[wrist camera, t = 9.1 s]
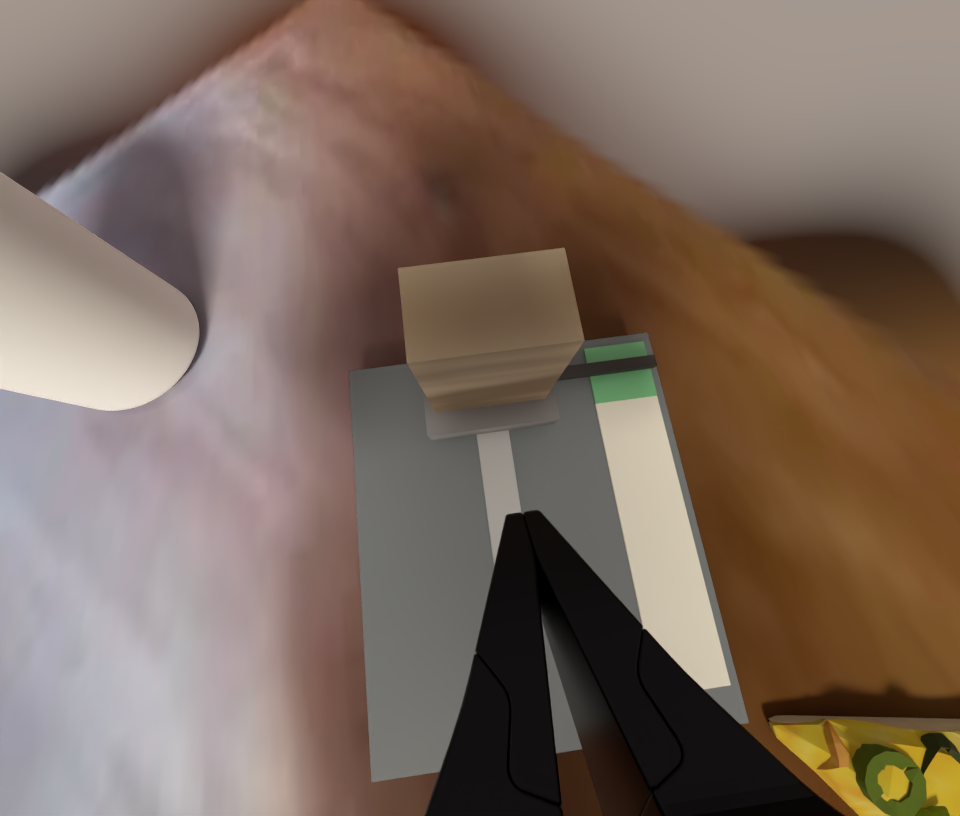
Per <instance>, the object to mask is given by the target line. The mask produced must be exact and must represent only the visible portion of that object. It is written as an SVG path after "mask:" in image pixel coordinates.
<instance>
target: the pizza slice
mask: <svg viewBox="0 0 960 816" xmlns="http://www.w3.org/2000/svg"><path fill="white" fill-rule="evenodd" d="M768 719H769V721H770V722H768V723H769V725H770V727H771V729H772V731H773V732H774V734H775V736H776V738H777V739H779V740H780V741H781V742H782V743H783V744H784V745H785V746H786V747H788V748H789V749H790V750H791V751H792V752H793V753H794V754H796V755H797V756H798V757H799V758H800V759H801V760H802V761H803V762H805V763H806V764H807V765H808V766H809V767H810V768H811V769H813V770H814V771H815V772H816V773H817V774H818V775H819V776H820V777H821V778H822V779H823V780H824V781H825V782H826V783H827V784H828V785H829V786H830V787H831V788H832V789H833V790H834V791H835V792H836V793H837V794H838V795H839V796H840V797H841V798H842V799H843V800H844V801H845V802H846V803H847V804H848V805H849V806H850V807H851V808H852V809H853V810H854V811H855V812H856V813H857V814H858V815H859V816H960V719H941V718H894V717H846V716H800V715H776V716H773V717H771V718H768Z"/></svg>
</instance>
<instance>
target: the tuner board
mask: <svg viewBox="0 0 960 816" xmlns="http://www.w3.org/2000/svg"><path fill="white" fill-rule="evenodd" d="M646 355H653V352H652V348H651V344H650V340H649V336H648V333H641V334H633V335H625V336H617V337H610V338H602V339H594V340H586V341H584V342H583V344H582V345H581V346H580V348H579V349H578V351H577V352H576V354H575V355H574V357H573V358H572V360H571V361H570V363H569V364H568V366H570V365H577V364H585V363H593V362H600V361H608V360H616V359H623V358H631V357H639V356H646ZM349 382H350V401H351V419H352V437H353V455H354V473H355V491H356V509H357V527H358V546H359V564H360V582H361V600H362V618H363V636H364V654H365V672H366V691H367V709H368V727H369V745H370V763H371V781H372V782H377V781H383V780H390V779H396V778H402V777H409V776H415V775H421V774H428V773H434V772H440V769H441V766H442V763H443V760H444V757H445V755H446V752H447V749H448V746H449V743H450V740H451V737H452V734H453V731H454V727H455V724H456V721H457V718H458V715H459V711H460V708H461V705H462V701H463V697H464V693H465V690H466V686H467V682H468V678H469V674H470V670H471V665H472V661H473V656H474V654H476V653H475V649H476V644H477V640H478V635H479V631H480V627H481V622H482V618H483V613H484V609H485V604H486V600H487V596H488V591H489V587H490V582H491V578H492V574H493V569H494V565H495V560H496V556H497V551H498V547H499V543H500V538H501V534H502V529H503V525H504V521H505V517H506V515H507V514H511V513H518V512H521V513H522V514H523V513H524V512H525V511H532V510H539V511H541V512H542V513H543V514H544V516H545V517H546V518H547V519H548V520H549V521H550V522H551V523H552V525H553V526H554V527H555V528H556V529H557V530H558V531H559V532H560V533H561V535H562V536H563V537H564V538H565V539H566V540H567V541H568V542H569V544H570V545H571V546H572V547H573V548H574V549H575V550H576V551H577V553H578V554H579V555H580V556H581V557H582V558H583V559H584V560H585V561H586V563H587V564H588V565H589V566H590V567H591V568H592V569H593V570H594V572H595V573H596V574H597V575H598V576H599V577H600V578H601V579H602V580H603V582H604V583H605V584H606V585H607V586H608V587H609V588H610V589H611V591H612V592H613V593H614V594H615V595H616V596H617V597H618V598H619V599H620V601H621V602H622V603H623V604H624V605H625V606H626V607H627V608H628V610H629V611H630V612H631V613H632V614H633V615H634V616H635V617H636V618H637V620H638V621H639V622H640V623H641V624H642V625H643V629H647V631H648V632H649V633H650V634H651V635H652V636H653V637H654V638H655V640H656V641H657V642H658V643H659V644H660V645H661V646H662V647H663V648H664V649H665V650H666V652H667V653H668V654H669V655H670V656H671V657H672V658H673V659H674V660H675V661H676V662H677V663H678V664H679V665H680V666H681V668H682V669H683V670H684V671H685V672H686V673H687V674H688V675H689V676H690V677H691V678H692V679H693V680H695V681H696V682H697V683H698V684H699V685H700V686H701V687H702V688H703V689H704V690H705V691H706V692H707V693H708V694H709V695H710V696H711V697H712V698H713V699H714V700H715V701H716V702H717V703H718V704H719V705H720V706H721V707H723V708H724V709H725V710H726V711H727V712H728V713H729V714H730V715H731V716H732V717H733V718H734V719H735V720H736V721H737V722H738V723H740V724H745V723H749V722H748V718H747V714H746V710H745V706H744V703H743V699H742V695H741V691H740V687H739V683H738V679H737V676H736V672H735V668H734V664H733V660H732V656H731V652H730V649H729V645H728V641H727V637H726V633H725V629H724V625H723V622H722V618H721V614H720V610H719V606H718V602H717V598H716V595H715V591H714V587H713V583H712V579H711V575H710V571H709V568H708V564H707V560H706V556H705V552H704V548H703V544H702V541H701V537H700V533H699V529H698V525H697V521H696V518H695V514H694V510H693V506H692V502H691V498H690V494H689V491H688V487H687V483H686V479H685V475H684V471H683V467H682V464H681V460H680V456H679V452H678V448H677V444H676V440H675V437H674V433H673V429H672V425H671V421H670V417H669V413H668V410H667V406H666V402H665V398H664V394H663V390H662V386H661V383H660V379H659V375H658V371H657V367H654V368H652V369H644V370H637V371H629V372H621V373H614V374H606V375H599V376H591V377H583V378H576V379H568V380H561V381H557V382H556V383H555V385H554V390H555V395H556V401H557V406H558V411H559V417H560V419H559V420H558V421H557V422H556V423H554V424H551V425H543V426H536V427H529V428H521V429H514V430H506V431H499V432H491V433H484V434H476V435H469V436H462V437H454V438H447V439H439V440H431V439H430V438H429V437H428V436H427V428H426V418H425V408H424V399H423V390H422V388H421V387H420V385H419V383H418V381H417V380H416V378H415V376H414V375H413V373H412V371H411V370H410V368H409V366H408V365H407V364H400V365H393V366H385V367H377V368H369V369H362V370H354V371H349ZM542 625H543V622H542ZM543 634H544V643H545V653H546V662H547V671H548V681H549V690H550V699H551V709H552V718H553V727H554V737H555V746H556V753H561V752H567V751H574V750H580V749H582V746H581V743H580V740H579V737H578V734H577V730H576V727H575V724H574V721H573V718H572V714H571V711H570V708H569V705H568V702H567V699H566V695H565V692H564V689H563V686H562V683H561V679H560V676H559V673H558V670H557V667H556V664H555V660H554V657H553V654H552V651H551V648H550V645H549V641H548V638H547V635H546V632H545V629H544V625H543Z"/></svg>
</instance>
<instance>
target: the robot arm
mask: <svg viewBox="0 0 960 816" xmlns="http://www.w3.org/2000/svg"><path fill="white" fill-rule="evenodd" d="M542 622H543V625H544V629H545V632H546V635H547V638H548V641H549V645H550V648H551V651H552V654H553V657H554V660H555V664H556V667H557V670H558V673H559V676H560V679H561V683H562V686H563V689H564V692H565V695H566V699H567V702H568V705H569V708H570V711H571V714H572V718H573V721H574V724H575V727H576V730H577V734H578V737H579V740H580V743H581V746H582V749H583V753H584V756H585V759H586V762H587V765H588V769H589V772H590V775H591V778H592V781H593V784H594V788H595V791H596V794H597V797H598V800H599V804H600V807H601V810H602V813H603V816H845V815H843V814H842V813H841V812H839V811H838V810H836V809H835V808H834V807H832V806H831V805H830V804H828V803H827V802H826V801H825V800H823V799H822V798H821V797H819V796H818V795H817V794H816V793H815V792H813V791H812V790H811V789H810V788H809V787H807V786H806V785H805V784H804V783H803V782H802V781H800V780H799V779H798V778H797V777H796V776H795V775H794V774H793V773H792V772H791V771H790V770H788V769H787V768H786V767H785V766H784V765H783V764H782V763H781V762H780V761H779V760H778V759H777V758H776V757H775V756H774V755H772V754H771V753H770V752H769V751H768V750H767V749H766V748H765V747H764V746H763V745H762V744H761V743H760V742H759V741H758V740H757V739H755V738H754V737H753V736H752V735H751V734H750V733H749V732H748V731H747V730H746V729H745V728H744V727H743V726H742V725H741V724H740V723H738V722H737V721H736V720H735V719H734V718H733V717H732V716H731V715H730V714H729V713H728V712H727V711H726V710H725V709H724V708H723V707H721V706H720V705H719V704H718V703H717V702H716V701H715V700H714V699H713V698H712V697H711V696H710V695H709V694H708V693H707V692H706V691H705V690H704V689H703V688H702V687H701V686H700V685H699V684H698V683H697V682H696V681H695V680H693V679H692V678H691V677H690V676H689V675H688V674H687V673H686V672H685V671H684V670H683V669H682V668H681V666H680V665H679V664H678V663H677V662H676V661H675V660H674V659H673V658H672V657H671V656H670V655H669V654H668V653H667V652H666V650H665V649H664V648H663V647H662V646H661V645H660V644H659V643H658V642H657V641H656V640H655V638H654V637H653V636H652V635H651V634H650V633H649V632H648V631H647V629H643V625H642V624H641V623H640V622H639V621H638V620H637V618H636V617H635V616H634V615H633V614H632V613H631V612H630V611H629V610H628V608H627V607H626V606H625V605H624V604H623V603H622V602H621V601H620V599H619V598H618V597H617V596H616V595H615V594H614V593H613V592H612V591H611V589H610V588H609V587H608V586H607V585H606V584H605V583H604V582H603V580H602V579H601V578H600V577H599V576H598V575H597V574H596V573H595V572H594V570H593V569H592V568H591V567H590V566H589V565H588V564H587V563H586V561H585V560H584V559H583V558H582V557H581V556H580V555H579V554H578V553H577V551H576V550H575V549H574V548H573V547H572V546H571V545H570V544H569V542H568V541H567V540H566V539H565V538H564V537H563V536H562V535H561V533H560V532H559V531H558V530H557V529H556V528H555V527H554V526H553V525H552V523H551V522H550V521H549V520H548V519H547V518H546V517H545V516H544V514H543V513H542V512H541V511H539V510H532V511H525V512H524V513H523V514H522V513H521V512H518V513H511V514H507V515H506V517H505V521H504V525H503V529H502V534H501V538H500V543H499V547H498V551H497V556H496V560H495V565H494V569H493V574H492V578H491V582H490V587H489V591H488V596H487V600H486V604H485V609H484V613H483V618H482V622H481V627H480V631H479V635H478V640H477V644H476V649H475V653H476V654H474V656H473V661H472V665H471V670H470V674H469V678H468V682H467V686H466V690H465V693H464V697H463V701H462V705H461V708H460V711H459V715H458V718H457V721H456V724H455V727H454V731H453V734H452V737H451V740H450V743H449V746H448V749H447V752H446V755H445V757H444V760H443V763H442V766H441V769H440V772H439V775H438V778H437V781H436V784H435V786H434V789H433V792H432V795H431V798H430V801H429V804H428V807H427V810H426V813H425V815H424V816H563V812H562V809H561V803H562V802H561V793H560V784H559V774H558V765H557V756H556V746H555V737H554V727H553V718H552V709H551V699H550V690H549V681H548V671H547V662H546V653H545V643H544V634H543V625H542Z"/></svg>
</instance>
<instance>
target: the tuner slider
mask: <svg viewBox="0 0 960 816" xmlns="http://www.w3.org/2000/svg"><path fill="white" fill-rule="evenodd" d="M398 275H399V286H400V296H401V307H402V318H403V328H404V339H405V350H406V360H407V365H408V366H409V368H410V370H411V371H412V373H413V375H414V376H415V378H416V380H417V381H418V383H419V385H420V387H421V388H422V390H423V399H424V408H425V418H426V428H427V436H428V437H429V438H430V439H431V440H439V439H447V438H454V437H462V436H469V435H476V434H484V433H491V432H499V431H506V430H514V429H521V428H529V427H536V426H543V425H551V424H554V423H556V422H557V421H558V420H559V419H560V417H559V411H558V406H557V401H556V395H555V390H554V385H555V383H556V382H557V381H561V380H568V379H576V378H583V377H591V376H599V375H606V374H614V373H621V372H629V371H637V370H644V369H652V368H654V367H656V366H657V364H656V360H655V356H654V355H646V356H639V357H631V358H623V359H616V360H608V361H600V362H593V363H585V364H577V365H570V366H568V364H569V363H570V361H571V360H572V358H573V357H574V355H575V354H576V352H577V351H578V349H579V348H580V346H581V345H582V344H583V342H584V341H585V340H584V335H583V330H582V326H581V321H580V317H579V312H578V307H577V303H576V298H575V293H574V289H573V284H572V279H571V275H570V270H569V266H568V261H567V256H566V252H565V248H558V249H550V250H542V251H533V252H525V253H517V254H509V255H501V256H493V257H484V258H476V259H468V260H460V261H452V262H444V263H435V264H427V265H419V266H411V267H403V268H398Z"/></svg>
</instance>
